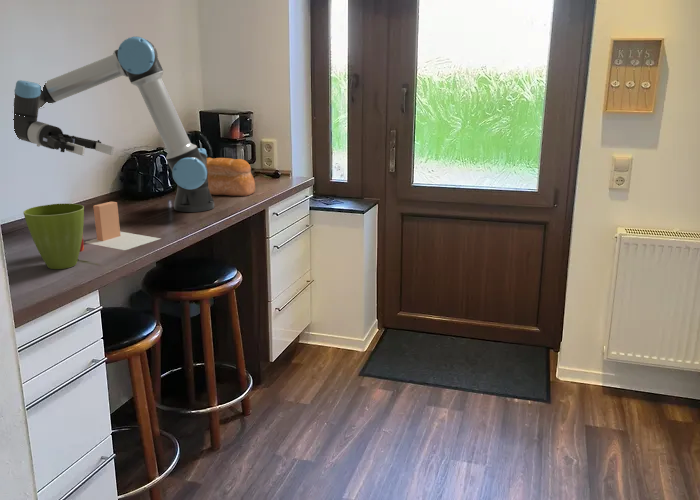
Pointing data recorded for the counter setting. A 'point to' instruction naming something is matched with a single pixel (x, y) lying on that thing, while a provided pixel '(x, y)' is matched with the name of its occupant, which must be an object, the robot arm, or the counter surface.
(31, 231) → the flower pot
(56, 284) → the counter surface
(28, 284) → the counter surface
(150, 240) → the mat
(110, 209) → the card box
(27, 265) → the counter surface
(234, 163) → the bread
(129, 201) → the counter surface
